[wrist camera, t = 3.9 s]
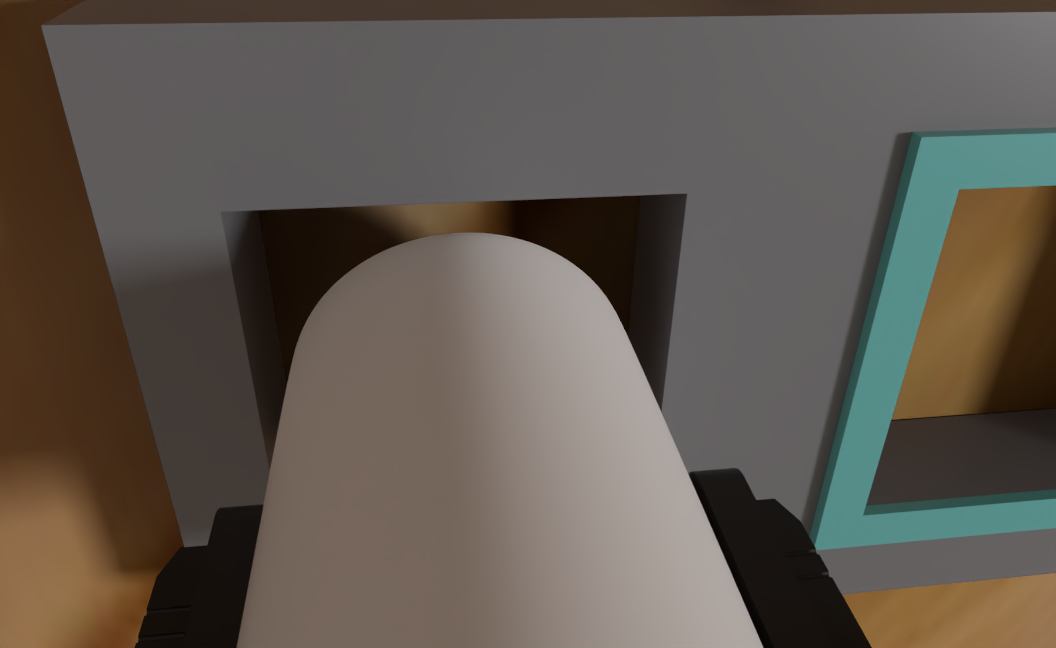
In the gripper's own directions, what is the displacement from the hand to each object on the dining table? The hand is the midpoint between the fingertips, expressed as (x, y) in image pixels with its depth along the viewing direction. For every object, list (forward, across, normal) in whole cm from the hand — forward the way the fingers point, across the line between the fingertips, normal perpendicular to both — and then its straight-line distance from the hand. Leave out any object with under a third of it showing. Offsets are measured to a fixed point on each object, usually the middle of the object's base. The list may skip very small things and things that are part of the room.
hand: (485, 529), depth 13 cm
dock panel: (+7, -6, 0) cm, 10 cm away
